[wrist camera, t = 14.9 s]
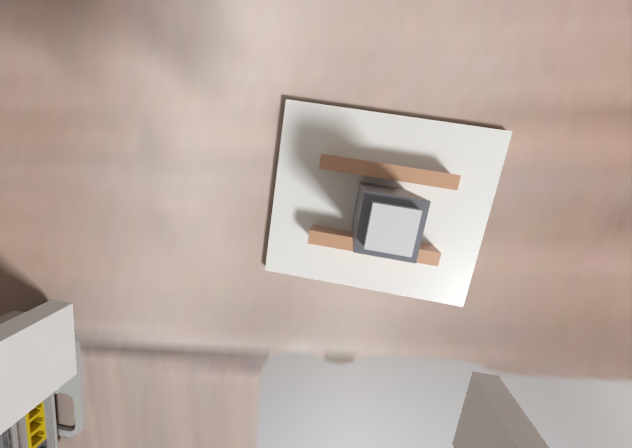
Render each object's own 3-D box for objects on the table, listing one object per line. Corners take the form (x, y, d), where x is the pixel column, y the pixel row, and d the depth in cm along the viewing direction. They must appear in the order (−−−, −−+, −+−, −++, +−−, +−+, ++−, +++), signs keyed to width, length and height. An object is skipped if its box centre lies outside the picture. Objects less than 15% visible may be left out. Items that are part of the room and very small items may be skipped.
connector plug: (359, 181, 34) (365, 191, 22) (404, 188, 33) (434, 203, 22) (351, 224, 35) (353, 256, 23) (395, 232, 34) (418, 267, 23)
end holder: (287, 100, 34) (279, 92, 30) (507, 132, 32) (529, 128, 28) (266, 267, 38) (257, 279, 34) (460, 303, 36) (473, 320, 32)
